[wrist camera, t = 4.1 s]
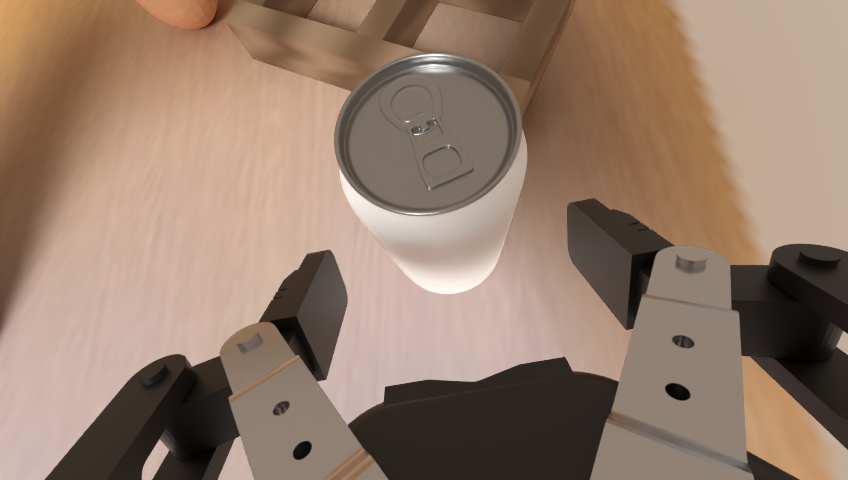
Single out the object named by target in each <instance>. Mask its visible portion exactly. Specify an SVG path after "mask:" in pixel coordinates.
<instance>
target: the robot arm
mask: <svg viewBox="0 0 848 480" xmlns="http://www.w3.org/2000/svg"><path fill="white" fill-rule="evenodd" d="M567 230H568V251H569V255H570V258H571V260H572V262H573V264H574V265H575V266H576V268H577V269H578V270H579V271H580V273H581V274H582V275H583V276H584V278H585V279H586V280H587V281H588V283H589V284H590V285H591V286H592V288H593V289H594V290H595V291H596V293H597V294H598V295H599V296H600V298H601V299H602V300H603V301H604V303H605V304H606V305H607V307H608V308H609V309H610V310H611V312H612V313H613V314H614V315H615V317H616V318H617V319H618V320H619V322H620V323H621V324H622V325H623V327H624V328H625V329H626V330H629V329H633V332H632V335H631V339H630V343H629V347H628V351H627V354H626V358H625V362H624V366H623V370H622V373H621V377H620V381H619V382H618V381H615V380H613V379H610V378H607V377H604V376H600V375H596V374H591V373H585V372H576V371H572V369H571V367H570V366H569V364H568V362H567V360H566V358H565V357H562V358H556V359H550V360H544V361H538V362H532V363H526V364H520V365H517V366H515V367H512V368H510V369H507V370H505V371H502V372H500V373H497V374H495V375H492V376H490V377H487V378H485V379H482V380H480V381H476V382H461V381H443V380H423V381H417V382H411V383H405V384H399V385H393V386H387V387H385V394H384V402H383V403H380V404H378V405H376V406H374V407H372V408H370V409H369V410H367V411H365V412H364V413H362V414H361V415H359V416H358V417H357V418H356V419H354V420H353V421H352V422H351V423H350V424H349V425H348V426H347V424H346V423H345V421H344V420H343V418H342V417H341V416H340V414H339V413H338V411H337V410H336V408H335V407H334V405H333V404H332V403H331V401H330V400H329V398H328V397H327V395H326V394H325V393H324V391H323V390H322V388H321V387H320V385H319V384H318V382H317V381H321V380H326V379H327V375H328V371H329V368H330V364H331V361H332V357H333V354H334V350H335V346H336V343H337V339H338V336H339V332H340V328H341V325H342V321H343V318H344V314H345V311H346V307H347V300H348V299H347V291H346V287H345V284H344V282H343V279H342V276H341V274H340V271H339V268H338V265H337V263H336V260H335V257H334V255H333V253H332V252H331V251H330V250H325V251H320V252H315V253H310V254H307V255H306V257H305V258H304V260H303V262H302V264H301V266H300V267H299V269H298V270H295V271H294V272H293V273H291V274H290V275H289V276H288V277H287V278H286V279H285V280H284V281H283V282H282V284H281V286H280V287H279V289H278V292H276V294H275V296H274V297H273V300H272V301H271V302H270V304H269V306H268V307H267V309H266V311H265V312H264V314H263V316H262V317H261V319H260V321H259V322H258V323H255V324H252V325H250V326H247V327H245V328H243V329H241V330H240V331H238V332H236V333H235V334H234V335H232V336H231V337H230V338H229V339H228V340H227V341H226V342H225V343H224V345H223V346H222V348H221V350H220V356H218V357H216V358H213V359H211V360H208V361H206V362H203V363H200V364H198V365H195V366H193V367H192V366H191V364H190V363H189V362H188V360H187V359H186V357H185V356H183V355H180V354H175V355H169V356H166V357H163V358H161V359H158V360H156V361H154V362H152V363H150V364H149V365H147V366H146V367H144V368H143V369H141V370H140V371H139V372H137V373H136V374H135V375H134V376H133V377H132V378H131V379H130V380H129V381H128V382H127V383H126V384H125V385H124V386H123V388H122V389H121V390H120V391H119V392H118V394H117V395H116V396H115V397H114V398H113V399H112V401H111V402H110V403H109V404H108V405H107V407H106V408H105V409H104V410H103V411H102V412H101V414H100V415H99V416H98V417H97V418H96V420H95V421H94V422H93V423H92V424H91V425H90V427H89V428H88V429H87V430H86V431H85V433H84V434H83V435H82V436H81V437H80V438H79V440H78V441H77V442H76V443H75V444H74V446H73V447H72V448H71V449H70V450H69V452H68V453H67V454H66V455H65V456H64V457H63V459H62V460H61V461H60V462H59V463H58V465H57V466H56V467H55V468H54V469H53V470H52V472H51V473H50V474H49V475H48V476H47V478H46V479H45V480H142V478H141V477H142V469H143V466H144V464H145V461H146V460H147V458H148V456H149V455H150V453H151V452H152V450H153V448H154V447H155V445H156V444H157V442H158V440H159V439H160V440H161V441H162V442H163V443H164V444H165V446H166V447H167V448H168V449H169V452H168V454H167V455H166V457H165V459H164V461H163V462H162V464H161V466H160V467H159V469H158V471H157V473H156V474H155V476H154V478H153V479H152V480H218V477H219V475H220V473H221V470H222V468H223V465H224V463H225V461H226V458H227V456H228V454H229V451H230V449H231V447H232V444H233V442H234V439H235V438H237V437H239V436H240V437H241V440H242V443H243V446H244V449H245V452H246V455H247V458H248V462H249V465H250V468H251V471H252V474H253V477H254V480H799V479H797V478H796V477H794V476H792V475H790V474H788V473H786V472H785V471H783V470H781V469H779V468H777V467H775V466H774V465H772V464H770V463H768V462H766V461H765V460H763V459H761V458H759V457H757V456H755V455H754V454H752V453H750V452H748V451H746V433H745V415H744V396H743V377H742V359H741V356H750V357H751V358H752V359H753V360H754V361H755V362H756V363H757V364H758V365H759V366H760V367H761V368H762V369H764V370H765V371H766V372H767V373H768V374H769V375H770V376H771V377H772V378H773V379H774V380H775V381H776V382H777V383H778V384H779V385H780V386H781V387H782V388H783V389H785V390H786V391H787V392H788V393H789V394H790V395H791V396H792V397H793V398H794V399H795V400H796V401H797V402H798V403H799V404H800V405H801V406H802V407H803V408H804V409H806V410H807V411H808V412H809V413H810V414H811V415H812V416H813V417H814V418H815V419H816V420H817V421H818V422H819V423H820V424H821V425H822V426H823V427H824V428H825V429H827V430H828V431H829V432H830V433H831V434H832V435H833V436H834V437H835V438H836V439H837V440H838V441H839V442H840V443H841V444H842V445H843V446H844V447H845V448H846V449H848V355H847V354H846V353H844V352H843V351H841V350H840V349H839V348H837V347H836V346H837V344H838V341H839V339H840V337H841V335H842V332H843V331H845V332H846V333H847V334H848V252H846V251H843V250H840V249H836V248H832V247H827V246H821V245H812V244H790V245H784V246H781V247H778V248H776V249H775V250H774V251H773V253H772V256H771V259H770V263H769V265H730V263H729V261H728V260H727V259H726V258H725V257H724V256H722V255H721V254H719V253H717V252H715V251H712V250H709V249H706V248H701V247H695V246H674V245H673V244H671V243H670V242H668V241H667V240H666V239H664V238H663V237H661V236H660V235H658V234H657V233H656V232H654V231H653V230H649V228H648V227H647V226H646V225H644V224H643V223H640V221H638V220H637V219H635V218H634V217H633V216H631V215H630V214H627V213H624V212H621V211H617V210H614V209H613V210H610V209H608V208H607V207H606V206H604V205H603V204H602V203H600V202H599V201H597V200H596V199H594V198H592V199H587V200H582V201H577V202H572V203H569V205H568V208H567Z"/></svg>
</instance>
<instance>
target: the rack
mask: <svg viewBox="0 0 848 480" xmlns="http://www.w3.org/2000/svg"><path fill="white" fill-rule="evenodd" d="M316 1H317V0H240V1H239V2H238V3H237V5H236V6H235V7H234V9H233V10H232V11H231V13H230V14H229V15H228V17H227V18H226V19H225V21H226V23H227V24H228V25H229V27H230V28H231V29H232V31H233V32H234V33H235V35H236V36H237V37H238V39H239V40H240V41H241V43H242V44H243V46H244V47H245V48H246V50H247V51H248V52H249V54H250V55H251V56H252V58H253V59H255V60H258V61H261V62H265V63H268V64H271V65H274V66H277V67H280V68H283V69H286V70H289V71H292V72H295V73H298V74H301V75H304V76H307V77H310V78H313V79H316V80H319V81H322V82H325V83H328V84H332V85H335V86H338V87H341V88H344V89H347V90H350V91H353V90H354V88H355V87H356V86H357V85H358V84H359V83H360V82H361V81H362V80H363V79H364V78H366V77H367V76H368V75H369V74H371V73H372V72H373V71H375V70H376V69H378V68H380V67H381V66H383V65H385V64H387V63H389V62H391V61H394V60H396V59H399V58H402V57H405V56H409V55H413V54H418V53H426V52H423V51H419V50H416V49H412V46H413V45H414V43H415V41H416V40H417V38H418V36H419V34H420V33H421V31H422V29H423V27H424V26H425V24H426V22H427V20H428V19H429V17H430V15H431V14H432V12H433V10H434V8H435V7H436V5H437V3H438V2H441V3H445V4H450V5H454V6H458V7H462V8H466V9H470V10H474V11H479V12H483V13H487V14H491V15H495V16H499V17H504V18H508V19H512V20H516V21H520V22H523V24H522V26H521V28H520V30H519V33H518V35H517V37H516V39H515V41H514V43H513V45H512V47H511V49H510V51H509V53H508V55H507V57H506V59H505V61H504V63H503V65H502V67H501V69H500V71H499V73H497V72H496V73H497V74H498V75H499V76H500V77H501V78H502V79H503V80H504V81H505V82H506V83H507V85H508V86H509V87H510V89H511V91H512V92H513V94H514V96H515V98H516V100H517V103H518V105H519V109H520V113H521V119H523V117H524V115H525V113H526V110H527V108H528V106H529V104H530V102H531V99H532V97H533V95H534V93H535V91H536V88H537V86H538V84H539V82H540V80H541V78H542V75H543V73H544V71H545V69H546V67H547V64H548V62H549V60H550V58H551V56H552V53H553V51H554V49H555V47H556V45H557V43H558V40H559V38H560V36H561V34H562V32H563V29H564V27H565V25H566V23H567V21H568V18H569V16H570V14H571V12H572V9H573V5H574V2H575V0H377V1H376V2H375V4H374V5H373V7H372V9H371V10H370V12H369V13H368V15H367V16H366V18H365V20H364V21H363V23H362V24H361V26H360V27H359V29H358V31H357V32H356V33H355V32H352V31H348V30H344V29H341V28H337V27H334V26H330V25H327V24H323V23H319V22H316V21H312V20H309V19H305V18H306V16H307V15H308V13H309V12H310V10H311V9H312V7H313V6H314V4H315V3H316Z"/></svg>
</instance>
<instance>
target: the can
mask: <svg viewBox="0 0 848 480" xmlns="http://www.w3.org/2000/svg"><path fill="white" fill-rule="evenodd" d="M334 147H335V154H336V158H337V162H338V165H339V169H340V178H341V183H342V187H343V190H344V193H345V195H346V198H347V200H348V202H349V203H350V205H351V207H352V209H353V210H354V212H355V213H356V214H357V216H358V217H359V219H360V220H361V221H362V222H363V224H364V225H365V226H366V227H367V229H368V230H369V231H370V232H371V234H372V235H373V236H374V237H375V238H376V240H377V241H378V242H379V243H380V244H381V246H382V247H383V248H384V249H385V250H386V252H387V253H388V254H389V255H390V256H391V258H392V259H393V260H394V261H395V262H396V263H397V265H398V266H399V267H400V268H401V269H402V270H403V272H404V273H405V274H406V275H407V276H408V277H409V278H410V279H411V280H412V281H413V282H415V283H416V284H417V285H419V286H420V287H422V288H424V289H426V290H429V291H432V292H436V293H441V294H454V293H460V292H464V291H467V290H469V289H471V288H473V287H475V286H477V285H478V284H480V283H481V282H482V281H484V280H485V279H486V278H487V277H488V276H489V274H490V273H491V272H492V270H493V269H494V267H495V266H496V264H497V261H498V259H499V257H500V254H501V251H502V248H503V245H504V242H505V239H506V236H507V233H508V230H509V227H510V224H511V221H512V218H513V215H514V212H515V209H516V206H517V203H518V200H519V196H520V193H521V190H522V186H523V182H524V179H525V174H526V168H527V144H526V139H525V135H524V132H523V129H522V119H521V113H520V109H519V105H518V103H517V100H516V98H515V96H514V94H513V92H512V91H511V89H510V87H509V86H508V85H507V83H506V82H505V81H504V80H503V79H502V78H501V77H500V76H499V75H498V74H497V73H496V72H495V71H493V70H492V69H490V68H489V67H488V66H486V65H484V64H482V63H481V62H479V61H476V60H474V59H472V58H469V57H466V56H462V55H458V54H453V53H446V52H426V53H418V54H413V55H409V56H405V57H402V58H399V59H396V60H394V61H391V62H389V63H387V64H385V65H383V66H381V67H380V68H378V69H376V70H375V71H373V72H372V73H371V74H369V75H368V76H367V77H366V78H364V79H363V80H362V81H361V82H360V83H359V84H358V85H357V86H356V87H355V88H354V90H353V91H352V92H351V93H350V95H349V96H348V98H347V99H346V101H345V103H344V104H343V106H342V108H341V111H340V113H339V116H338V119H337V122H336V127H335V134H334Z"/></svg>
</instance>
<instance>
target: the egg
mask: <svg viewBox="0 0 848 480" xmlns="http://www.w3.org/2000/svg"><path fill="white" fill-rule="evenodd" d="M136 1H137V2H138V3H139V4H140V5H141V6H142V7H143V8H144V9H145V10H146V11H147V12H148V13H150V14H151V15H152V16H154V17H155V18H157V19H158V20H160V21H162V22H164V23H166V24H168V25H170V26H174V27H177V28H182V29H187V30H189V29H200V28H202V27H205V26H206V25H208V24H209V23H210V22H211V21H212V19H213V18H214V15H215V13H216V9H217V4H218V0H136Z"/></svg>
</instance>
